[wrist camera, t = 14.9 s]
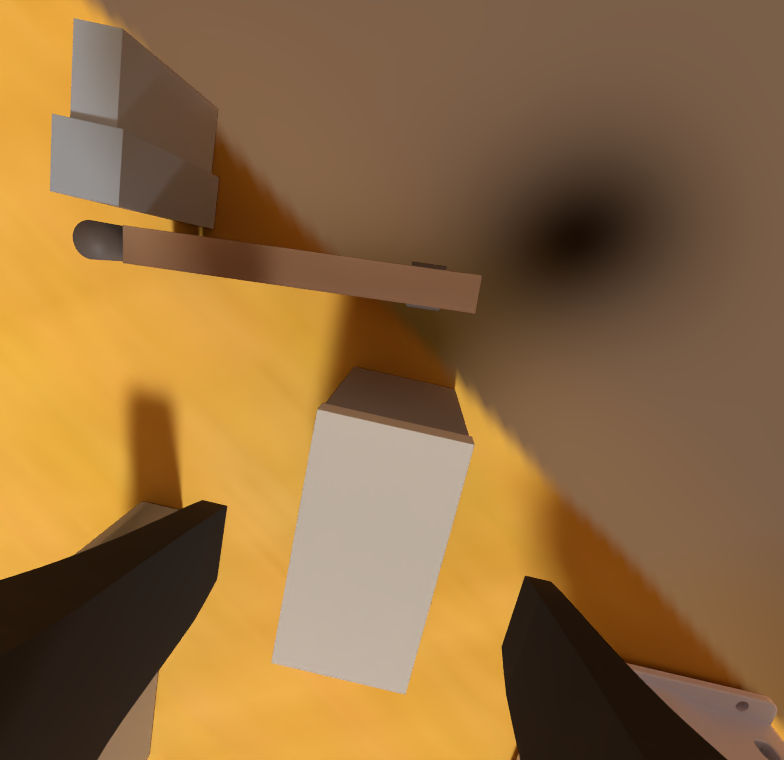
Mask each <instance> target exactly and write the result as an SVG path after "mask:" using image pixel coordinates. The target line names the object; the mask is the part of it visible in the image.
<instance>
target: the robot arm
mask: <svg viewBox="0 0 784 760" xmlns="http://www.w3.org/2000/svg"><path fill="white" fill-rule="evenodd" d="M226 511H227V506H225V505H221V504H217V503H212V502H208V501H204V500H202V501H199V502H197V503H194V504H192V505H189V506H187V507H185V508H183V509H180V510H178V511H176V512H174V513H172V514H169V515H167V516H165V517H163V518H161V519H159V520H156V521H154V522H152V523H150V524H147V525H145V526H143V527H141V528H138V529H136V530H134V531H132V532H130V533H127V534H125V535H123V536H120V537H118V538H115V539H113V540H111V541H108V542H106V543H103V544H101V545H98V546H96V547H93V548H91V549H88V550H86V551H83V552H81V553H78V554H76V555H73V556H71V557H68V558H65V559H63V560H60V561H57V562H54V563H51V564H48V565H46V566H43V567H40V568H37V569H34V570H31V571H27V572H24V573H21V574H18V575H15V576H12V577H9V578H6V579H2V580H0V760H98V758H99V757H100V755H101V753H102V752H103V750H104V748H105V747H106V745H107V743H108V742H109V740H110V739H111V737H112V736H113V734H114V733H115V731H116V730H117V728H118V727H119V725H120V724H121V722H122V721H123V719H124V718H125V717H126V715H127V714H128V712H129V711H130V710H131V708H132V707H133V705H134V704H135V703H136V701H137V700H138V699H139V697H140V696H141V694H142V693H143V692H144V690H145V689H146V687H147V686H148V685H149V683H150V682H151V680H152V679H153V678H154V676H155V675H156V673H157V672H158V671H159V669H160V668H161V667H162V665H163V664H164V662H165V661H166V660H167V658H168V657H169V655H170V654H171V653H172V651H173V650H174V648H175V647H176V646H177V644H178V643H179V641H180V640H181V639H182V637H183V636H184V634H185V633H186V631H187V630H188V629H189V627H190V626H191V624H192V623H193V621H194V620H195V618H196V617H197V615H198V613H199V611H200V609H201V608H202V606H203V604H204V602H205V601H206V599H207V597H208V595H209V593H210V591H211V590H212V588H213V586H214V584H215V582H216V580H217V576H218V568H219V561H220V554H221V547H222V540H223V533H224V525H225V518H226ZM502 657H503V669H504V679H505V688H506V696H507V701H508V706H509V711H510V715H511V720H512V725H513V729H514V734H515V739H516V743H517V748H518V752H519V754H518V756H517V759H516V760H784V742H783V740H782V739H781V738H780V736H779V735H778V734H777V733H776V731H775V730H774V729H773V728H772V726H771V723H772V721H773V719H774V717H775V716H776V713H777V707H776V705H775V704H774V703H773V702H772V700H771V699H770V698H769V697H767V696H765V695H761V694H757V693H753V692H748V691H744V690H740V689H736V688H731V687H727V686H723V685H718V684H714V683H710V682H706V681H701V680H697V679H693V678H688V677H684V676H680V675H676V674H671V673H667V672H663V671H658V670H654V669H650V668H646V667H641V666H637V665H633V664H628V663H626V662H625V661H624V660H623V659H622V658H621V657H620V656H619V655H618V654H617V653H616V652H615V651H614V650H613V649H612V647H611V646H610V645H609V644H608V643H607V642H606V641H605V640H604V639H603V638H602V637H601V635H600V634H599V633H598V632H597V631H596V630H595V629H594V628H593V627H592V626H591V624H590V623H589V622H588V621H587V620H586V619H585V618H584V617H583V615H582V614H581V613H580V612H579V611H578V610H577V609H576V608H575V607H574V605H573V604H572V603H571V602H570V601H569V600H568V599H567V598H566V597H565V596H564V595H563V593H562V592H561V591H560V590H559V589H558V588H557V587H556V586H555V585H554V584H553V583H552V582H550V581H546V580H541V579H537V578H533V577H529V576H525V578H524V581H523V584H522V587H521V590H520V593H519V596H518V599H517V602H516V605H515V608H514V611H513V614H512V617H511V620H510V623H509V626H508V629H507V632H506V635H505V638H504V641H503V645H502Z"/></svg>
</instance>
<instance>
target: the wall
mask: <svg viewBox="0 0 784 760" xmlns="http://www.w3.org/2000/svg"><path fill="white" fill-rule="evenodd" d="M217 116H218V108H217V107H215V106H214V105H213V104H212V103H211V102H210V101H208V100H207V99H206V98H205V97H203V96H202V95H201V94H200V93H199V92H198V91H196V90H195V89H194V88H193V87H192V86H190V85H189V84H188V83H187V82H186V81H184V80H183V79H182V78H181V77H180V76H179V75H177V74H176V73H175V72H174V71H173V70H171V69H170V68H169V67H168V66H167V65H165V64H164V63H163V62H162V61H161V60H159V59H158V58H157V57H156V56H155V55H153V54H152V53H151V52H150V51H149V50H148V49H146V48H145V47H144V46H143V45H142V44H140V43H139V42H138V41H137V40H136V39H134V38H133V37H132V36H131V35H130V34H128V33H127V32H126V31H125V30H124V29H122V28H117V27H112V26H108V25H103V24H98V23H94V22H89V21H84V20H79V19H75V18H74V29H73V57H72V86H71V114H70V118H69V117H65V116H60V115H56V114H52V138H51V176H50V191H52V192H56V193H60V194H65V195H69V196H73V197H77V198H81V199H86V200H90V201H94V202H98V203H102V204H107V205H111V206H115V207H119V208H123V209H128V210H132V211H136V212H140V213H144V214H149V215H153V216H157V217H161V218H166V219H170V220H175V221H179V222H184V223H188V224H193V225H197V226H202V227H206V228H211V229H214V220H215V211H216V202H217V193H218V184H219V177H217V176H215V175H213V174H211V173H212V163H213V154H214V144H215V135H216V126H217ZM176 511H178V509H174V508H169V507H165V506H161V505H156V504H152V503H148V502H143V501H142V502H140V503H139V504H138V505H137V506H135V507H134V508H133V509H132V510H130V511H129V512H128V513H127V514H125V515H124V516H123V517H121V518H120V519H119V520H118V521H116V522H115V523H114V524H113V525H111V526H110V527H109V528H108V529H106V530H105V531H104V532H103V533H101V534H100V535H99V536H98V537H96V538H95V539H94V540H92V541H91V542H90V543H89V544H87V545H86V546H85V547H84V548H82V549H81V550H80V551H79V552H77V553H76V554H78V553H81V552H83V551H86V550H88V549H91V548H93V547H96V546H98V545H101V544H103V543H106V542H108V541H111V540H113V539H115V538H118V537H120V536H123V535H125V534H127V533H130V532H132V531H134V530H136V529H138V528H141V527H143V526H145V525H147V524H150V523H152V522H154V521H156V520H159V519H161V518H163V517H165V516H167V515H169V514H172V513H174V512H176ZM76 554H75V555H76ZM157 679H158V672H157V673H156V675H155V676H154V678H153V679H152V680H151V682H150V683H149V685H148V686H147V687H146V689H145V690H144V692H143V693H142V694H141V696H140V697H139V699H138V700H137V701H136V703H135V704H134V705H133V707H132V708H131V710H130V711H129V712H128V714H127V715H126V717H125V718H124V719H123V721H122V722H121V724H120V725H119V727H118V728H117V730H116V731H115V733H114V734H113V736H112V737H111V739H110V740H109V742H108V743H107V745H106V747H105V748H104V750H103V752H102V753H101V755H100V757H99V758H98V760H147V759H148V757H149V754H150V744H151V735H152V726H153V716H154V707H155V697H156V688H157Z"/></svg>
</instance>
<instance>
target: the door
mask: <svg viewBox="0 0 784 760" xmlns="http://www.w3.org/2000/svg"><path fill="white" fill-rule="evenodd" d="M73 242H74V245H75V247H76V249H77V250H78V252H79V253H80V254H81V255H83V256H84V257H86V258H88V259H95V260H111V261H123V263H127V264H134V265H141V266H148V267H155V268H162V269H169V270H176V271H183V272H190V273H197V274H204V275H211V276H218V277H225V278H232V279H238V280H245V281H252V282H259V283H266V284H273V285H280V286H287V287H294V288H301V289H308V290H315V291H322V292H329V293H336V294H343V295H350V296H357V297H364V298H371V299H378V300H385V301H392V302H399V303H406V306H407V307H414V308H421V309H428V310H435V311H439V310H440V308H441V309H447V310H454V311H461V312H468V313H475V311H476V305H477V300H478V294H479V289H480V283H481V278H482V276H480V275H474V274H467V273H459V272H451V271H446V266H440V265H433V264H425V263H419V262H412V266H410V265H403V264H395V263H387V262H381V261H373V260H367V259H359V258H353V257H346V256H338V255H331V254H324V253H317V252H310V251H303V250H296V249H289V248H282V247H274V246H267V245H260V244H253V243H246V242H239V241H232V240H225V239H218V238H210V237H203V236H196V235H189V234H182V233H175V232H168V231H161V230H154V229H146V228H139V227H132V226H125V225H123V226H120V225H114V224H109V223H103V222H98V221H92V220H85V221H82V222H80V223H79V224H78V225H77V226H76V227H75V229H74V232H73Z"/></svg>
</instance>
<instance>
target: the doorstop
mask: <svg viewBox="0 0 784 760" xmlns="http://www.w3.org/2000/svg"><path fill="white" fill-rule="evenodd" d="M473 448H474V442H473V439H472V437H471V436H469V435H468V431H467V428H466V425H465V421H464V418H463V415H462V411H461V408H460V405H459V402H458V398H457V395H456V392H455V389H452V388H448V387H443V386H439V385H434V384H430V383H425V382H421V381H417V380H412V379H408V378H403V377H399V376H394V375H390V374H385V373H381V372H376V371H372V370H368V369H363V368H359V367H353V369H352V370H351V371H350V372H349V374H348V375H347V376H346V378H345V379H344V380H343V381H342V383H341V384H340V385H339V387H338V388H337V389H336V390H335V392H334V393H333V394H332V396H331V397H330V398H329V399H328V401H327V402H326V403H322V404H321V406H320V407H319V408H318V409H317V415H316V420H315V426H314V431H313V437H312V442H311V448H310V453H309V459H308V464H307V470H306V475H305V481H304V486H303V492H302V497H301V503H300V508H299V514H298V519H297V525H296V530H295V536H294V541H293V547H292V552H291V558H290V563H289V569H288V574H287V580H286V585H285V591H284V596H283V602H282V607H281V613H280V618H279V624H278V629H277V635H276V640H275V646H274V651H273V657H272V662H271V663H274V664H278V665H283V666H287V667H291V668H295V669H299V670H304V671H308V672H312V673H316V674H321V675H325V676H329V677H333V678H338V679H342V680H346V681H350V682H355V683H359V684H363V685H367V686H371V687H376V688H380V689H384V690H388V691H393V692H397V693H401V694H406V691H407V687H408V683H409V680H410V676H411V672H412V669H413V665H414V662H415V658H416V654H417V651H418V647H419V644H420V640H421V636H422V633H423V629H424V625H425V622H426V618H427V615H428V611H429V607H430V604H431V600H432V597H433V593H434V589H435V586H436V582H437V578H438V575H439V571H440V568H441V564H442V560H443V557H444V553H445V550H446V546H447V542H448V539H449V535H450V532H451V528H452V524H453V521H454V517H455V513H456V510H457V506H458V503H459V499H460V495H461V492H462V488H463V485H464V481H465V477H466V474H467V470H468V466H469V463H470V459H471V456H472V452H473Z"/></svg>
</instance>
